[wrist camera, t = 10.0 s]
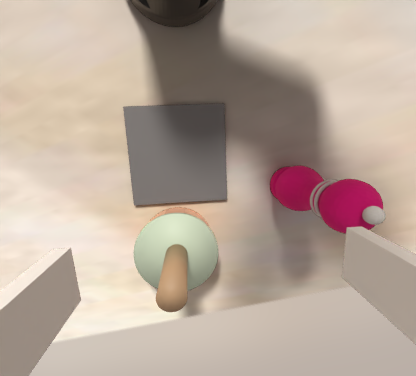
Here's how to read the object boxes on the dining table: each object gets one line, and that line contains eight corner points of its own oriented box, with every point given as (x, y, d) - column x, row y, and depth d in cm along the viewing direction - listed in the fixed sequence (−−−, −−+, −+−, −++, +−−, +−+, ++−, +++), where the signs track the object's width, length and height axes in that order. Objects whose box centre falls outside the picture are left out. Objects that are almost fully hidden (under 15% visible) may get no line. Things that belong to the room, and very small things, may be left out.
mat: (124, 107, 35) (123, 106, 35) (223, 104, 36) (224, 103, 36) (134, 204, 38) (134, 205, 37) (226, 198, 39) (227, 199, 39)
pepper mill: (260, 196, 40) (331, 242, 20) (276, 158, 39) (365, 167, 19) (296, 208, 41) (395, 263, 21) (312, 171, 40) (431, 194, 20)
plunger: (130, 215, 33) (102, 247, 22) (216, 209, 34) (228, 238, 23) (139, 292, 36) (117, 355, 25) (219, 285, 37) (231, 342, 26)
